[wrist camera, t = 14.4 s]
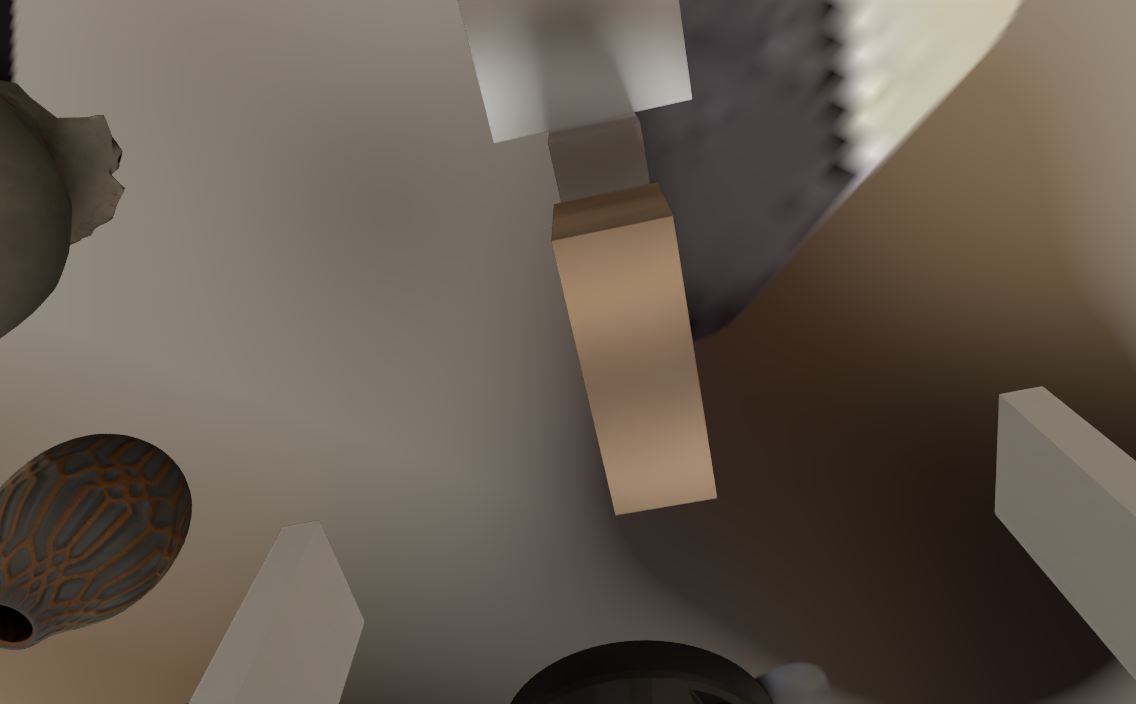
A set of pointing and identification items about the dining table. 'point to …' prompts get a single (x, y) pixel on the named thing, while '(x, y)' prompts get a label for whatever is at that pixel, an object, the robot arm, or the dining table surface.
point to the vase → (86, 534)
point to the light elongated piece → (608, 220)
